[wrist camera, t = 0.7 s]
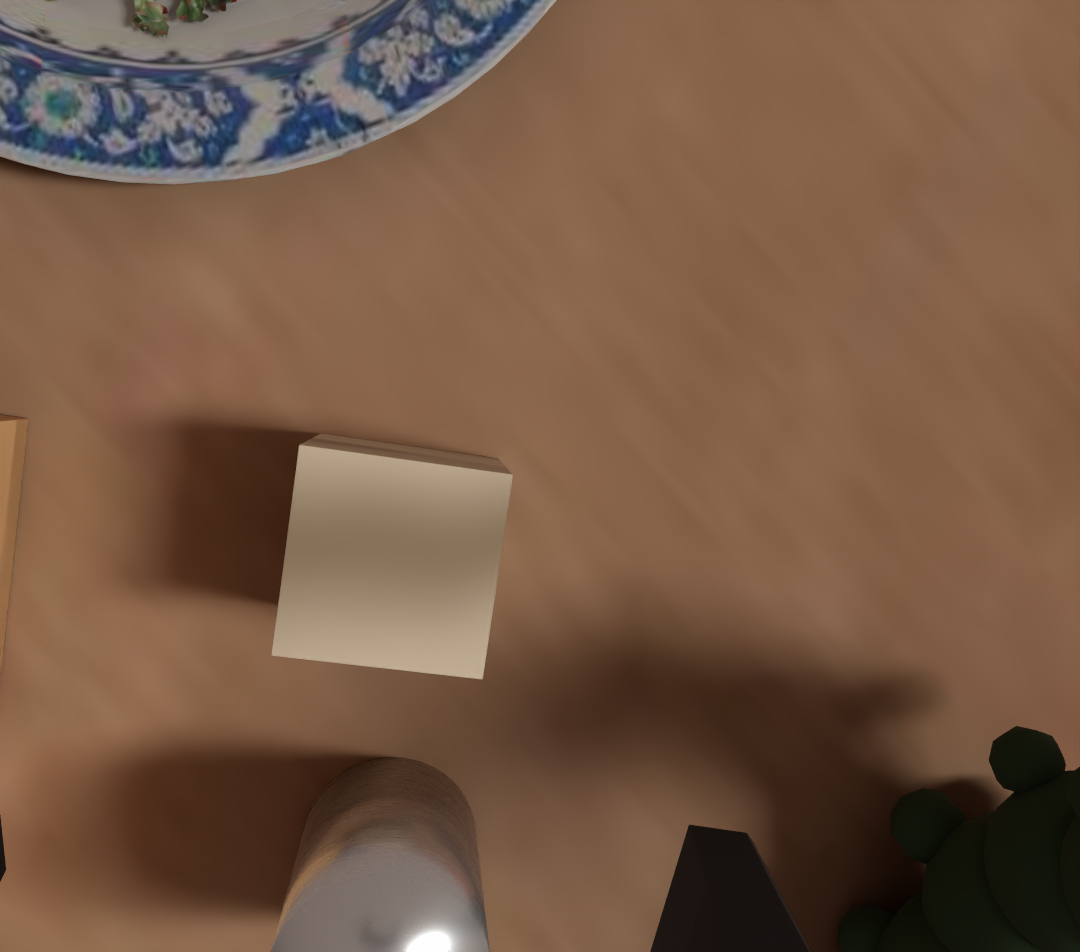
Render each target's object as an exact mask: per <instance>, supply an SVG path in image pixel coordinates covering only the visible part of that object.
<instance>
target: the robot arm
mask: <svg viewBox="0 0 1080 952" xmlns="http://www.w3.org/2000/svg"><path fill="white" fill-rule="evenodd" d="M5 871H6V864H5V855H4V846H3V836H2V827H1V817H0V881H1V879H2V877H3V875H4V873H5ZM651 952H811V950H810V948H809V946H808V944H807V943H806V941H805V939H804V937H803V935H802V933H801V932H800V930H799V928H798V926H797V924H796V923H795V921H794V919H793V917H792V915H791V913H790V911H789V910H788V908H787V906H786V904H785V902H784V900H783V898H782V896H781V895H780V893H779V891H778V889H777V887H776V885H775V883H774V881H773V879H772V877H771V875H770V874H769V872H768V870H767V868H766V866H765V864H764V862H763V860H762V858H761V856H760V854H759V852H758V850H757V848H756V846H755V844H754V843H753V841H752V840H751V838H750V837H749V836H748V834H747V833H743V832H736V831H729V830H722V829H715V828H708V827H701V826H694V825H689V826H688V830H687V833H686V836H685V840H684V843H683V846H682V850H681V853H680V856H679V859H678V863H677V866H676V869H675V873H674V876H673V879H672V882H671V886H670V889H669V892H668V896H667V899H666V902H665V906H664V909H663V912H662V915H661V919H660V922H659V925H658V929H657V932H656V935H655V939H654V942H653V945H652V948H651Z"/></svg>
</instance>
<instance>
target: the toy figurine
mask: <svg viewBox="0 0 1080 952" xmlns="http://www.w3.org/2000/svg"><path fill="white" fill-rule="evenodd" d="M989 762H990V764H991V767H992V769H993V772H994V775H995V777H996V780H997V781H998V782H999V783H1000V784H1001V786H1002V787H1003V788H1004V789H1008V790H1011V791H1014V793H1013V794H1012V795H1011V796H1009V797H1008V798H1007V799H1006V800H1005V801H1004V802H1003V803H1002V804H1001V805H1000V806H998V807H997V809H996V811H993V812H990V813H987V814H984V815H981V816H978V817H975V818H972V819H970V820H967V821H966V816H965V814H964V813H963V812H962V811H961V810H960V809H959V808H958V807H957V806H956V805H955V804H954V803H953V801H952V800H951V799H950V798H949V797H948V796H947V795H946V794H945V793H944V792H939V791H934V790H928V789H921V790H918V791H915V792H911V793H908V794H906V795H904V796H902V797H900V798H899V799H898V801H897V803H896V805H895V807H894V809H893V810H892V812H891V814H890V816H891V834H892V835H893V836H894V838H895V839H896V841H897V842H898V843H899V845H900V846H901V848H902V849H903V850H904V852H905V853H906V855H907V856H908V857H909V858H911V859H914V860H916V861H919V862H922V863H925V864H927V866H926V870H925V875H924V880H923V884H922V893H920V894H918V895H917V896H915V897H913V898H911V899H909V900H907V902H906V903H905V904H904V905H903V906H902V908H901V909H900V910H899V911H898V912H897V914H896V915H895V916H894V915H893V914H891V913H889V912H887V911H885V910H882V909H878V908H874V907H870V906H866V905H861V906H858V907H855V908H853V909H850V911H849V912H848V913H847V915H846V916H845V917H844V919H843V920H842V921H841V922H840V924H839V933H838V939H839V947H840V952H1080V767H1079V768H1077V769H1076V770H1075V771H1065V766H1066V764H1065V760H1064V757H1063V755H1062V753H1061V751H1060V749H1059V746H1058V744H1057V743H1056V741H1055V740H1054V738H1053V737H1052V736H1051V735H1048V734H1045V733H1042V732H1039V731H1036V730H1032V729H1027V728H1023V727H1018V726H1015V727H1014V728H1012V729H1011V730H1009V731H1008V732H1006V733H1004V734H1003V735H1001V736H1000V737H998V738H997V739H995V740H994V741H993V744H992V748H991V752H990V757H989Z"/></svg>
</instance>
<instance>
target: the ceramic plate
mask: <svg viewBox="0 0 1080 952" xmlns="http://www.w3.org/2000/svg"><path fill="white" fill-rule="evenodd" d="M555 1H556V0H0V157H3V158H6V159H9V160H12V161H15V162H18V163H23V164H27V165H31V166H35V167H39V168H43V169H47V170H51V171H55V172H59V173H63V174H67V175H74V176H81V177H88V178H95V179H102V180H110V181H117V182H130V183H153V184H192V183H210V182H226V181H233V180H239V179H246V178H253V177H259V176H266V175H272V174H277V173H281V172H284V171H288V170H292V169H295V168H299V167H303V166H306V165H310V164H314V163H318V162H322V161H325V160H329V159H332V158H336V157H339V156H343V155H346V154H348V153H350V152H352V151H355V150H357V149H359V148H361V147H363V146H365V145H367V144H370V143H372V142H374V141H376V140H378V139H380V138H382V137H385V136H387V135H389V134H391V133H393V132H395V131H397V130H400V129H402V128H404V127H406V126H408V125H410V124H412V123H414V122H416V121H417V120H419V119H421V118H422V117H424V116H425V115H427V114H429V113H430V112H432V111H433V110H435V109H437V108H438V107H440V106H441V105H443V104H445V103H446V102H448V101H449V100H451V99H453V98H454V97H455V96H457V95H458V94H459V93H461V92H462V91H463V90H464V89H466V88H467V87H468V86H470V85H471V84H472V83H473V82H475V81H476V80H477V79H479V78H480V77H481V76H482V75H484V74H485V73H486V72H488V71H489V70H490V69H491V68H493V67H494V66H495V65H496V64H497V63H498V62H499V61H500V60H501V59H502V58H503V57H504V56H505V55H506V54H507V53H508V52H509V51H511V50H512V49H513V48H514V47H515V46H516V45H517V44H518V43H519V42H520V41H521V40H522V39H523V38H524V37H525V36H526V35H527V34H528V33H529V32H530V31H531V29H532V28H533V27H534V26H535V24H536V23H537V22H538V21H539V20H540V19H541V17H542V16H543V15H544V14H545V13H546V12H547V11H548V9H549V8H550V7H551V6H552V5H553V4H554V3H555Z"/></svg>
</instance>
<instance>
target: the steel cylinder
mask: <svg viewBox="0 0 1080 952" xmlns="http://www.w3.org/2000/svg"><path fill="white" fill-rule="evenodd" d="M271 952H490V951H489V943H488V934H487V925H486V916H485V907H484V898H483V889H482V880H481V872H480V863H479V854H478V845H477V836H476V827H475V822H474V817H473V814H472V811H471V808H470V806H469V804H468V802H467V800H466V798H465V796H464V795H463V793H462V792H461V790H460V789H459V788H458V787H457V786H456V784H455V783H454V782H453V781H452V780H451V779H450V778H448V777H447V776H446V775H445V774H443V773H442V772H440V771H439V770H437V769H435V768H434V767H432V766H429V765H427V764H425V763H422V762H419V761H416V760H411V759H406V758H379V759H375V760H370V761H366V762H363V763H361V764H358V765H356V766H354V767H352V768H349V769H347V770H346V771H344V772H343V773H341V774H340V775H338V776H337V777H336V778H335V779H333V780H332V781H331V782H330V783H329V784H328V785H327V786H326V787H325V788H324V789H323V790H322V792H321V793H320V794H319V796H318V797H317V799H316V800H315V802H314V804H313V806H312V808H311V809H310V812H309V814H308V817H307V820H306V823H305V827H304V831H303V834H302V838H301V842H300V845H299V849H298V853H297V856H296V860H295V864H294V868H293V871H292V875H291V879H290V882H289V886H288V890H287V893H286V897H285V901H284V904H283V908H282V912H281V915H280V919H279V923H278V927H277V930H276V934H275V938H274V941H273V945H272V949H271Z"/></svg>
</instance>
